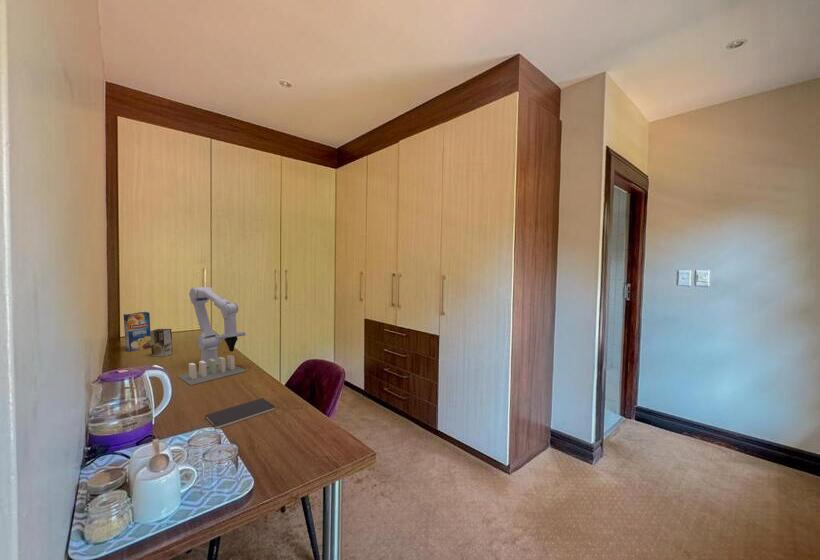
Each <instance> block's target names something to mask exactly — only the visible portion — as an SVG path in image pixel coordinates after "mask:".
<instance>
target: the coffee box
mask: <svg viewBox="0 0 820 560" xmlns="http://www.w3.org/2000/svg"><path fill="white" fill-rule="evenodd" d="M150 335H151V348H150V349H151V357H161V358H162V357H168V356H171V355H173V352H174V351H173V337H172V336H173V334H172V328H156V329H153V330H150Z"/></svg>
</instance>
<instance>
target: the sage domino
mask: <svg viewBox="0 0 820 560" xmlns="http://www.w3.org/2000/svg"><path fill="white" fill-rule="evenodd" d="M216 367H217V365H216V360H214V359H209V367H208V369H209V373H211V374H212V375H213V374H216Z"/></svg>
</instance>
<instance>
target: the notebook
mask: <svg viewBox="0 0 820 560" xmlns="http://www.w3.org/2000/svg"><path fill="white" fill-rule="evenodd" d="M275 409H276V405H274V404H273V403H272V402H269V401H268V400H266V399H265V398H263V397H261V398H257V399H253V400H252V401H251V400H250V401H248V402H245V403H242V404H238V405H237V404H236V405H235V406H230V407H228V408H224V409H220V410H217V411H214V412H210V413H208V414H205V416H204V418H206V419H207V420H208V422H209V423H210V424H211V425H212V426H213V428H215V429H220V428H224V427H227V426H230V425H233V424H235V423H239V422H241V421H245V420H247V419H251V418H254V417H257V416H261V415H263V414H266V413H269V412H273V411H274V410H275Z"/></svg>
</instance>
